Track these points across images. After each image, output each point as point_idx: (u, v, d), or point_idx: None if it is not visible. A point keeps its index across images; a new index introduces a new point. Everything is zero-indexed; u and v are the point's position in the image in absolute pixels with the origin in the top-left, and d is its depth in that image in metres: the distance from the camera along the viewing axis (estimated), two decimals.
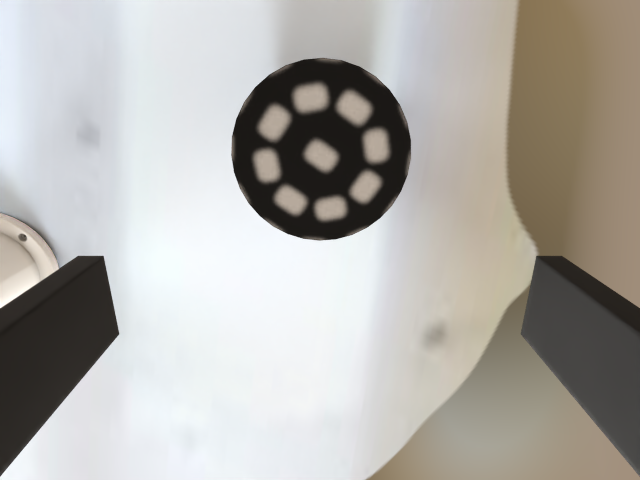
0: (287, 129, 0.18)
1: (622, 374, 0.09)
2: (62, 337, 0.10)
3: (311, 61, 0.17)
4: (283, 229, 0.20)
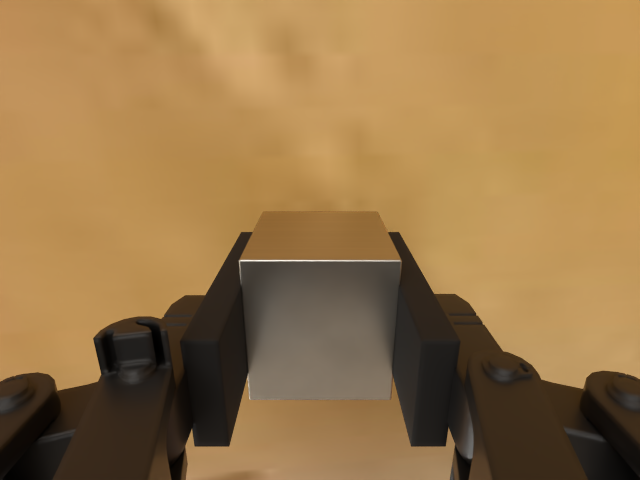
0: None
1: None
2: None
3: None
4: None
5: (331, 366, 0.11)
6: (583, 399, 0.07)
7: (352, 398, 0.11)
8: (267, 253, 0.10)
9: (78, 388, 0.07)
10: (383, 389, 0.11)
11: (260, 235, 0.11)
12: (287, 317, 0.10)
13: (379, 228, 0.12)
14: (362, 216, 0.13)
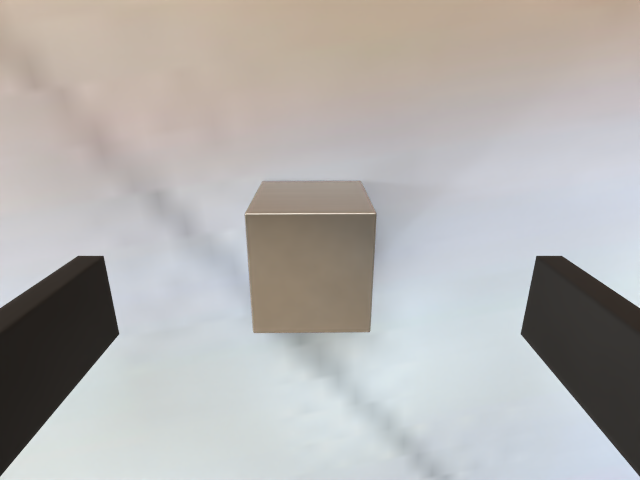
0: None
1: (622, 374, 0.09)
2: (62, 337, 0.10)
3: None
4: None
5: (320, 303, 0.13)
6: None
7: (337, 331, 0.14)
8: (268, 208, 0.12)
9: None
10: (363, 323, 0.14)
11: (261, 197, 0.14)
12: (284, 261, 0.13)
13: (360, 192, 0.14)
14: (347, 183, 0.16)
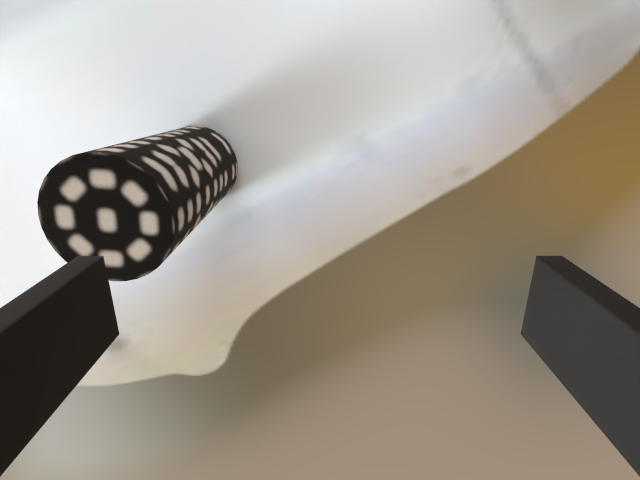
0: (105, 189, 0.24)
1: (622, 374, 0.09)
2: (62, 337, 0.10)
3: (154, 182, 0.24)
4: (42, 223, 0.25)
5: None
6: None
7: None
8: None
9: None
10: None
11: None
12: None
13: None
14: None
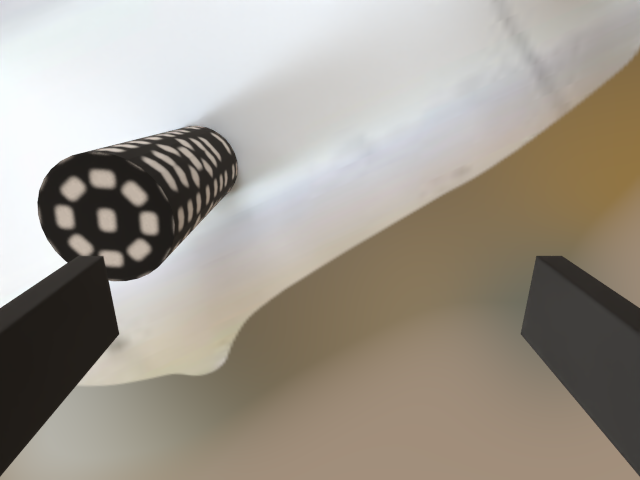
0: (105, 189, 0.24)
1: (622, 374, 0.09)
2: (62, 337, 0.10)
3: (154, 182, 0.24)
4: (42, 223, 0.25)
5: None
6: None
7: None
8: None
9: None
10: None
11: None
12: None
13: None
14: None
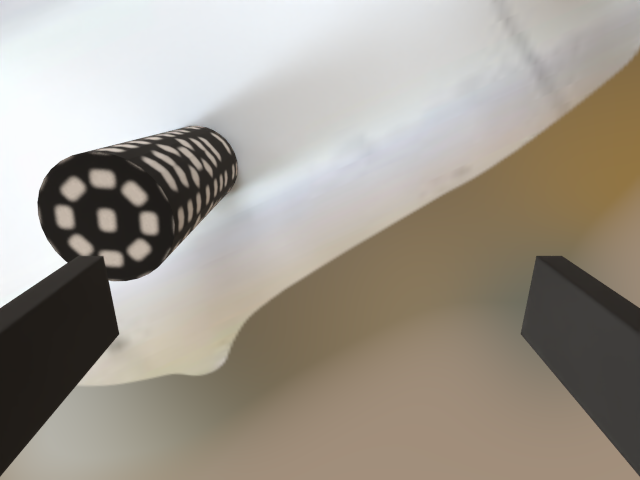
0: (105, 189, 0.24)
1: (622, 374, 0.09)
2: (62, 337, 0.10)
3: (154, 182, 0.24)
4: (42, 223, 0.25)
5: None
6: None
7: None
8: None
9: None
10: None
11: None
12: None
13: None
14: None
